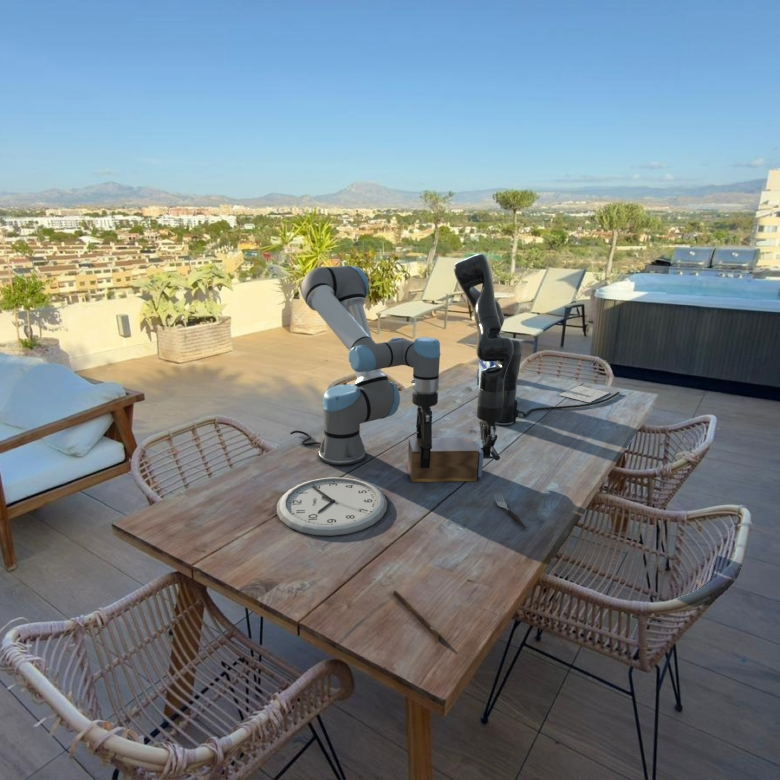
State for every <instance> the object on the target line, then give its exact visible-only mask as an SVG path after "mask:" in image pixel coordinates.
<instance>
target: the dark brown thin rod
mask: <svg viewBox="0 0 780 780" xmlns="http://www.w3.org/2000/svg"><path fill="white" fill-rule="evenodd" d="M392 595H393V596H394V597H395V598H396V599H397V600H398V601H399V602H400V603H401V604H402V605H403V606H404V607H405V608H406V609H407V610H408V612H410V613H411V614H412V615H413V616H414V618H416V619H417V620H418V621H419V622H420V623H421V624H422V625H423V626H424V628H426V629H427V630H428V631H429V633H430V634H431V635H432V636H433V637H434V638H435V639H436V640H437V641H439V640H441V635H440V634H439V633H438V631H436V629H435V628H434V627H433V626H432V625H431V624H430V623H429V622H428V621H427V620H426V619H425V618H424V617H423V616H422V615H421V614H420V613H419V612H418V611H417V610H416V609H415V608H414V607H413V606H412V605H411V604H410V603H409V602H408V601H407V600H406V599H405V598H404V597H403V596H402V595H401V593H399V592H398V591H397V590H394V591H393V593H392Z"/></svg>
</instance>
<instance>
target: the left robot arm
mask: <svg viewBox="0 0 780 780" xmlns="http://www.w3.org/2000/svg"><path fill="white" fill-rule="evenodd" d="M369 288H370V283H369V279H368V277H367V275H366V273H365V271H363V269H362V268H360V267H358V266H352V265H341V266H318V267H314V268H313V269H311V270H310V271H308V272H307V273H306V275H305V276H304V277H303V279H302V282H301V295H302V298H303V301H304V302H305V304H306V305H307V307H308V308H309V309H310V310H312V311H314V312H316V313H318V315H319V316H320V317H321V319H322V320H323V321H324V322H325V323H326V325H327V326H328V327H329V328H330V329H331V331H332V332H333V333H334V334H335V336H336V337H337V338H338V340H340V341H341V343H342V344H343V346H345V348H346V349H347V350H348V351H349V352H348V362H349V363H350V367H351V369H352V370H353V371H354V373H355V376H356V381H354V384H351V383H349V384H339V385H334V386H332V387H330V388H328V389H327V390H326V391H325V392H324V394H323V401H322V409H323V437H322V439H321V441H312V442H308V441H310V440H311V439H312V436H311V435H310V434H309V433H308V432H305V431H302V430H292V431H291V432H290V433H289V434H290V435H293V434H302V435H304V436H306V437H307V438H305V439H303V440H301V442H300V443H301V445H302V446H312V445H313V446H314V445H320V446H319V449H318V458H319V460H320V461H321V462H322V463H325V464H327V465H331V466H340V467H341V466H342V467H343V466H350V465H355V464H358V463H360V462H362V461H363V460H364V459H365V458H366V446H365V444H364V441H363V439H362V437H361V432H360V431H361V430H360V429H361V424H364V423H369V422H372V421H377V420H380V419H381V420H382V419H386V418H389V417H392V416H393V415H395V413H397V411H398V409H399V406H400V402H401V395H400V390H399V388H398V386H397V385H396V384H395V383H394V382H392V381H389V378H388V375H387V374H385V373H384V372H382V369H388V368H393V367H399V366H405V367H408V368H412V370H413V372H412V373H413V374H412V379H411V380H410V383H411V384H412V390H413V391H412V396H411V397H412V399H411V401H412V404H413V405H415V406H417V408H416V425H415V427H416V438H422V446H420V447H419V448H420V449H421V463H420V468H430V449H432V438H433V436H432V435H433V431H432V429H433V427H432V426H433V424H432V423H433V411H432V409H431V407H434V406H436V405H438V402H439V392H438V391H439V387H440V385H439V383H440V359H441V343H440V340H439V339H437V338H435V337H429V336H421V337H417V338H415V339H414V341H413V340H410V339H407V338H404V337H393V338H391V339H390V340H388V341H386V342H377V343H376V342H375V341H374V340H373V336H372V333H371V329H370V326H369V323H368V317H367V315H366V311H365V307H364V305H365V304H366V302H367V296H368V295H369V291H370V290H369Z"/></svg>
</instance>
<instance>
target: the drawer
mask: <svg viewBox="0 0 780 780" xmlns="http://www.w3.org/2000/svg"><path fill="white" fill-rule="evenodd" d="M473 442H474V443H475V445H476V447H477V449H478V451H479V453H478V466H477V478H482V477H483V465H484V460H487V459H489V460H490V459H491V460H494V461H496V462H497V461H500V459H501V456H500V455H499V453H498V452H497V450H496V448H495V446H493V447H492V446H491V453H490V456H483V454H484V453H483V451H482V449H483V447H481V445H480V444H479V442H478V440H473Z"/></svg>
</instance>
